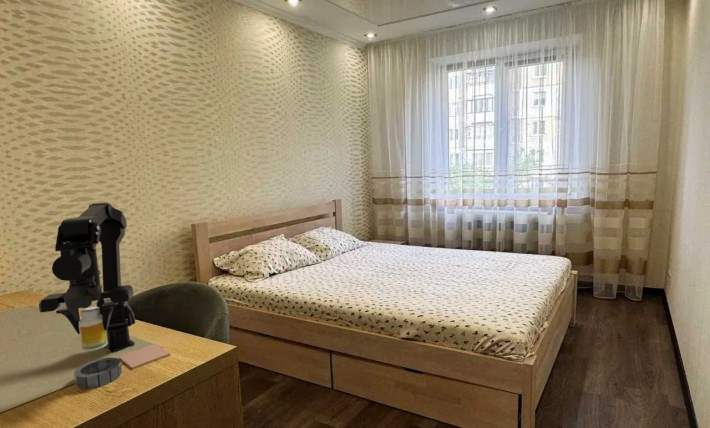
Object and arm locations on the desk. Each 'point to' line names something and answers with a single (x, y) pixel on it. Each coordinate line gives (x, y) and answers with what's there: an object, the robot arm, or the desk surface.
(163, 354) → the terracotta pad
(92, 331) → the supplement bottle
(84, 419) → the desk surface
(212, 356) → the desk surface
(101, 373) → the grey segmented ring
